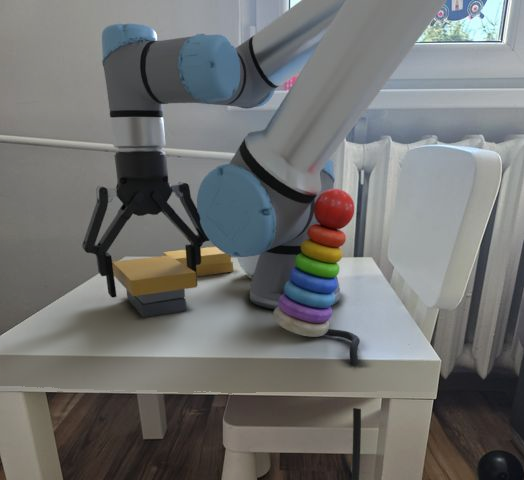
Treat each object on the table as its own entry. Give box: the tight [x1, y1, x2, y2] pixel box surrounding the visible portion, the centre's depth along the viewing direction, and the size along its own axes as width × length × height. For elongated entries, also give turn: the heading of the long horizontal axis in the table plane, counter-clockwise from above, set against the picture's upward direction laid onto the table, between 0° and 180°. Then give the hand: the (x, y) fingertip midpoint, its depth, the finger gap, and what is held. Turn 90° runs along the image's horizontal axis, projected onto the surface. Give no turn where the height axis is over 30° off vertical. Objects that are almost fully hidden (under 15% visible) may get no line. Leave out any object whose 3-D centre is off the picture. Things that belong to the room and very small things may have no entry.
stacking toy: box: [273, 188, 355, 338], centre depth 65 cm, size 8×8×19 cm
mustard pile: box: [162, 246, 234, 277], centre depth 102 cm, size 13×8×4 cm, turn 117°
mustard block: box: [112, 255, 198, 296], centre depth 81 cm, size 14×10×2 cm
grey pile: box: [125, 288, 187, 318], centre depth 82 cm, size 11×7×4 cm, turn 27°
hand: (153, 289), depth 82 cm, fingers open, 13 cm apart
